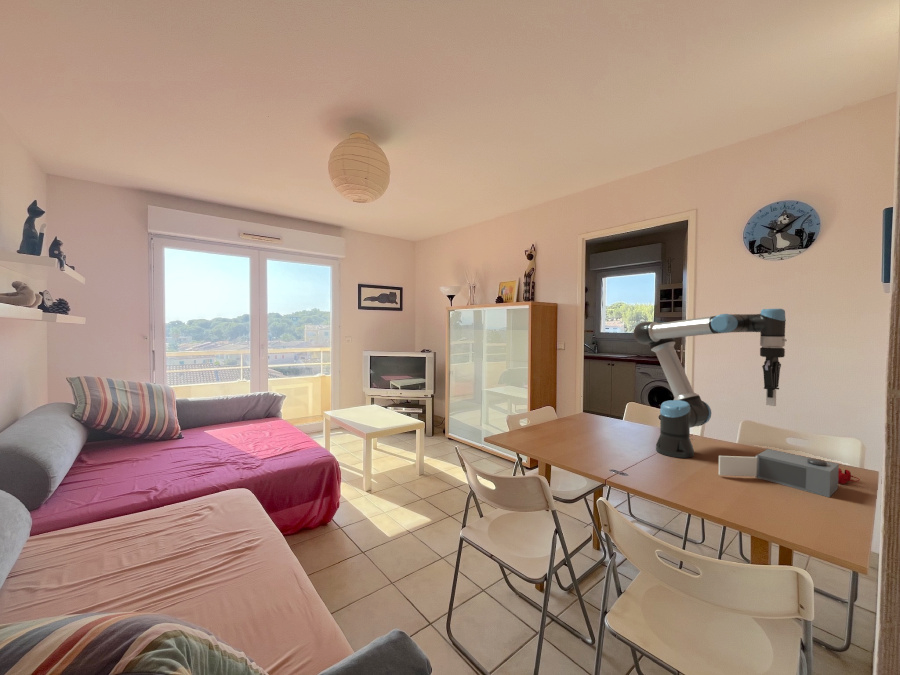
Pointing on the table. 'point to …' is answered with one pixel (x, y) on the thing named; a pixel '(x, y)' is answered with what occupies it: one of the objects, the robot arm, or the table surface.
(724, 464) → the door
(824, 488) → the case
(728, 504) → the table surface
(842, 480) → the alarm clock
